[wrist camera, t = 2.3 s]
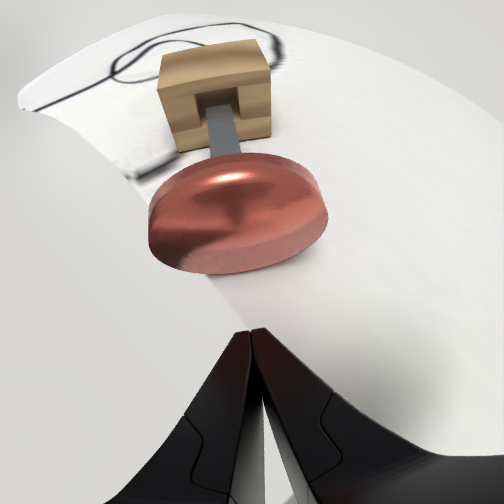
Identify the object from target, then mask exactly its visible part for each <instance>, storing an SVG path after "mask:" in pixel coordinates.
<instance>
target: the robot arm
mask: <svg viewBox="0 0 504 504" xmlns="http://www.w3.org/2000/svg"><path fill="white" fill-rule="evenodd" d="M262 399H263V401H262ZM263 403H264V407H265V410H266V413H267V416H268V419H269V422H270V425H271V428H272V431H273V434H274V437H275V440H276V443H277V446H278V449H279V452H280V455H281V458H282V461H283V464H284V467H285V469H286V472H287V475H288V478H289V481H290V483H291V486H292V489H293V492H294V495H295V498H296V500H297V503H298V504H504V455H492V456H446V455H440V454H436V453H432V452H429V451H427V450H424V449H422V448H420V447H418V446H416V445H415V444H413V443H411V442H409V441H408V440H406V439H404V438H402V437H401V436H399V435H397V434H395V433H394V432H392V431H390V430H389V429H387V428H385V427H384V426H382V425H380V424H379V423H377V422H375V421H374V420H372V419H371V418H369V417H368V416H366V415H365V414H363V413H362V412H360V411H359V410H358V409H356V408H355V407H354V406H353V405H351V404H350V403H349V402H347V401H346V400H345V399H344V398H343V397H342V396H340V395H339V394H338V393H337V392H334V390H333V389H332V388H331V387H330V386H329V385H328V384H326V383H325V382H324V381H323V380H322V379H321V378H320V377H319V376H317V375H316V374H315V373H314V372H313V371H312V370H311V369H310V368H308V367H307V366H306V365H305V364H304V363H303V362H302V361H301V360H300V359H298V358H297V357H296V356H295V355H294V354H293V353H292V352H291V351H290V350H289V349H288V348H286V347H285V346H284V345H283V344H282V343H281V342H280V341H279V340H278V339H277V338H276V337H275V336H274V335H272V334H271V333H270V332H269V331H268V330H267V329H266V328H258V329H253V330H251V333H250V331H248V330H247V331H241V332H236V333H235V334H234V335H233V337H232V338H231V340H230V342H229V343H228V345H227V347H226V348H225V350H224V351H223V353H222V355H221V356H220V358H219V359H218V361H217V363H216V364H215V366H214V368H213V369H212V371H211V372H210V374H209V375H208V377H207V379H206V380H205V382H204V383H203V385H202V386H201V388H200V390H199V391H198V393H197V394H196V396H195V397H194V399H193V401H192V402H191V404H190V405H189V407H188V408H187V410H186V411H185V413H184V416H182V418H181V419H180V420H179V422H178V424H177V425H176V426H175V428H174V429H173V431H172V432H171V433H170V435H169V436H168V438H167V439H166V440H165V442H164V443H163V444H162V445H161V447H160V448H159V449H158V450H157V451H156V453H155V454H154V455H153V456H152V458H151V459H150V460H149V461H148V462H147V463H146V464H145V465H144V467H142V469H141V470H140V471H139V472H138V473H137V474H136V475H135V476H134V477H133V478H132V479H131V481H130V482H129V483H128V484H127V485H126V486H125V487H124V488H123V489H122V490H121V491H120V492H119V493H118V494H117V495H116V496H114V497H113V498H112V499H110V500H109V501H107V502H106V503H104V504H265V483H264V482H265V481H264V427H263V426H264V424H263V423H264V421H263Z"/></svg>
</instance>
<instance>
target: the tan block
mask: <svg viewBox="0 0 504 504" xmlns="http://www.w3.org/2000/svg"><path fill="white" fill-rule="evenodd" d="M157 91H158V94H159V97H160V100H161V103H162V106H163V109H164V112H165V114H166V117H167V120H168V123H169V126H170V129H171V131H172V134H173V137H174V140H175V143H176V145H177V148H178V151H179V152H183V151H187V150H192V149H197V148H202V147H207V146H210V144H209V135H208V126H207V116H206V108H210V107H215V106H221V105H227V104H231V107H232V112H233V116H234V121H235V126H236V131H237V136H238V140H239V141H241V140H247V139H254V138H261V137H268V136H271V74H270V68H269V65H268V63H267V61H266V59H265V57H264V55H263V53H262V51H261V49H260V47H259V45H258V43H257V41H256V39H251V40H241V41H233V42H226V43H220V44H213V45H208V46H202V47H197V48H192V49H187V50H183V51H178V52H174V53H170V54H166V55H162V61H161V66H160V72H159V79H158V85H157Z"/></svg>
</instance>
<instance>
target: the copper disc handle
mask: <svg viewBox="0 0 504 504" xmlns="http://www.w3.org/2000/svg"><path fill="white" fill-rule="evenodd" d="M206 116H207V126H208V135H209V144H210V153H211V158H209V159H206V160H203V161H200V162H198V163H195V164H193V165H191V166H189V167H186V168H184V169H183V170H181V171H179V172H178V173H176V174H174V175H173V176H172V177H170V178H169V179H168V180H167V181H165V182H164V183H163V184H162V185H161V186H160V188H159V189H158V190H157V191H156V193H155V194H154V196H153V198H152V200H151V202H150V206H149V216H148V223H149V224H148V242H149V248H150V250H151V252H152V254H153V255H154V256H155V257H156V258H157V259H158V260H159V261H161V262H162V263H164V264H166V265H168V266H170V267H172V268H175V269H178V270H182V271H187V272H193V273H201V274H227V273H237V272H244V271H249V270H254V269H259V268H263V267H266V266H270V265H273V264H276V263H278V262H281V261H284V260H286V259H288V258H291V257H293V256H295V255H297V254H298V253H300V252H302V251H304V250H305V249H306V248H308V247H309V246H311V245H312V244H313V243H314V242H315V241H317V239H318V238H319V237H320V236H321V235H322V234H323V232H324V231H325V228H326V226H327V223H328V213H327V210H326V207H325V204H324V201H323V198H322V195H321V192H320V190H319V187H318V184H317V181H316V180H315V178H314V176H313V175H312V174H311V173H310V172H309V171H308V170H307V169H306V168H304V167H303V166H301V165H300V164H298V163H296V162H294V161H292V160H290V159H287V158H283V157H280V156H276V155H271V154H263V153H241V150H240V145H239V140H238V136H237V131H236V126H235V121H234V116H233V112H232V107H231V104H227V105H221V106H215V107H210V108H206Z"/></svg>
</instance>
